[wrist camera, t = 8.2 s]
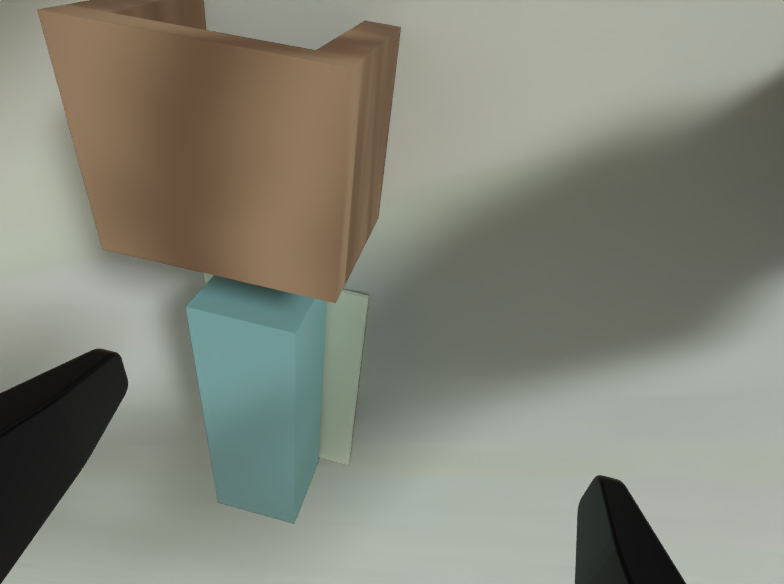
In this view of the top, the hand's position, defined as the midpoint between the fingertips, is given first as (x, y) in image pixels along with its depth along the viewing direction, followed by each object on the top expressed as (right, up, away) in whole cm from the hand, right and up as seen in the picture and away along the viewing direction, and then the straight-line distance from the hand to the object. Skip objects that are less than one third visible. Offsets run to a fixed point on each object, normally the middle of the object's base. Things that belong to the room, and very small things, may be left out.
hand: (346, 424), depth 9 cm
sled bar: (-5, -2, +18) cm, 18 cm away
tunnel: (-3, +9, +9) cm, 13 cm away
